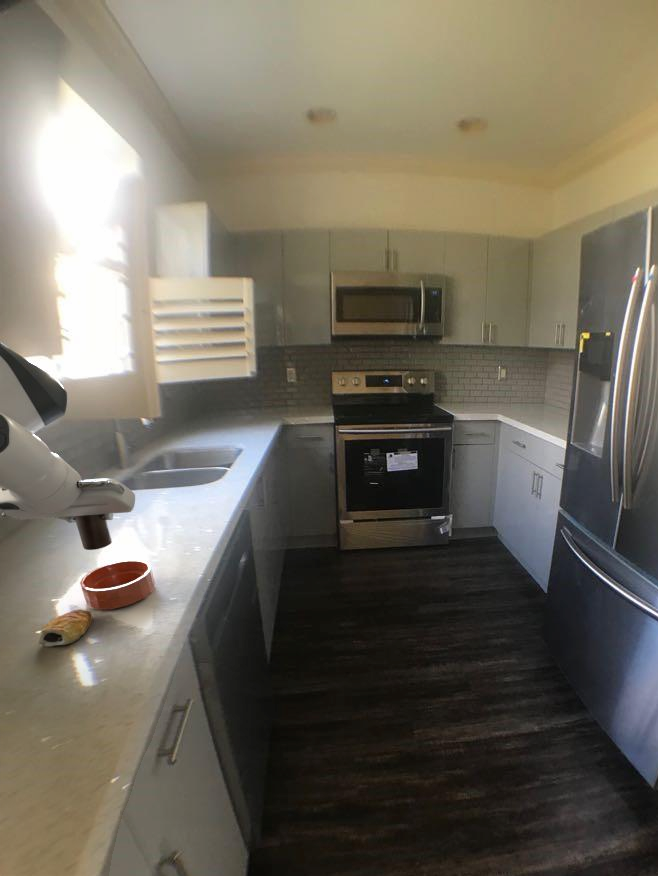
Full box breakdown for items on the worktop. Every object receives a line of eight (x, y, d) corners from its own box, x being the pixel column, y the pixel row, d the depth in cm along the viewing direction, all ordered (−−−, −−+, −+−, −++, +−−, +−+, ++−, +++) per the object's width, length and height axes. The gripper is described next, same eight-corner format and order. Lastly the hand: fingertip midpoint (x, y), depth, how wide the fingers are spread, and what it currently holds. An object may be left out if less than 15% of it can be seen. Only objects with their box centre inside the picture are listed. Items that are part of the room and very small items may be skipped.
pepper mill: (81, 551, 86) (64, 495, 82) (86, 541, 90) (70, 488, 86) (109, 547, 88) (94, 492, 83) (113, 537, 92) (99, 484, 88)
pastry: (69, 617, 90) (64, 601, 89) (103, 617, 90) (98, 600, 89) (36, 648, 82) (29, 630, 80) (73, 648, 82) (67, 630, 80)
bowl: (80, 617, 90) (73, 596, 88) (94, 586, 102) (88, 566, 100) (152, 603, 94) (147, 582, 92) (157, 574, 106) (153, 555, 104)
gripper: (117, 464, 77) (150, 499, 90) (-14, 472, 75) (38, 506, 88) (113, 497, 75) (147, 528, 87) (-23, 506, 73) (32, 537, 85)
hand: (92, 517), depth 88 cm, fingers closed on pepper mill, 5 cm apart
